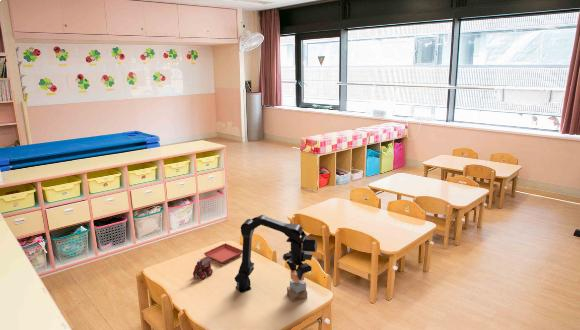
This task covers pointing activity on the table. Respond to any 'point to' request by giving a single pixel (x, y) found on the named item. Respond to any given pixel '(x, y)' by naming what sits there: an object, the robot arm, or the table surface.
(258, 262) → the table surface
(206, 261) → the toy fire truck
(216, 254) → the red square tray
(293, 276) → the terracotta block
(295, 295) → the walnut base
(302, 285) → the grey block
